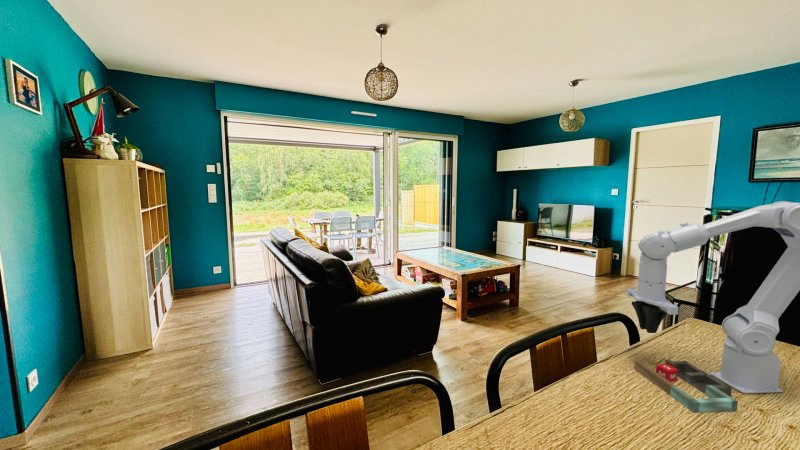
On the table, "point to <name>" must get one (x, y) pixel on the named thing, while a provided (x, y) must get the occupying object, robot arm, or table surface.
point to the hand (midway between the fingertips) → (648, 330)
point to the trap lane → (699, 380)
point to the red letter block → (667, 372)
